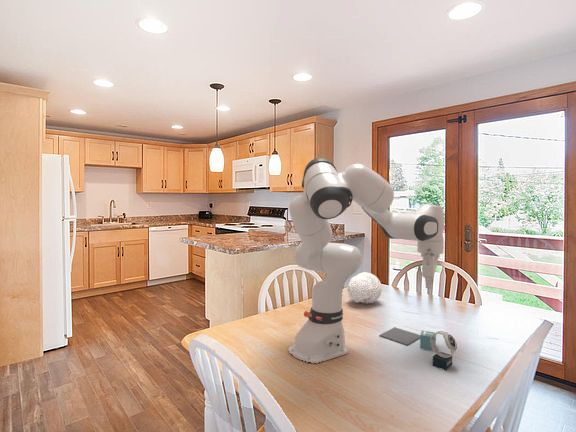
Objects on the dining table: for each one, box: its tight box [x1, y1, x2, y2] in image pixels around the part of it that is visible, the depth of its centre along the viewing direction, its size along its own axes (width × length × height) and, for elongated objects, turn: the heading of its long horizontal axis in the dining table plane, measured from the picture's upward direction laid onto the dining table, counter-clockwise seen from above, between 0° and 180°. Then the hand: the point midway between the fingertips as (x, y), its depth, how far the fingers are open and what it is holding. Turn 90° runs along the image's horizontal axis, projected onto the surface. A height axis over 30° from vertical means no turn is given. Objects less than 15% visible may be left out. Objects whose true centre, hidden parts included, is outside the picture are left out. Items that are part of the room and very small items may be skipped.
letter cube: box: [419, 330, 437, 351], centre depth 125 cm, size 5×5×5 cm
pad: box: [378, 327, 421, 347], centre depth 134 cm, size 12×12×1 cm
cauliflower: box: [346, 271, 383, 304], centre depth 174 cm, size 20×18×16 cm
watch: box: [430, 330, 458, 371], centre depth 111 cm, size 6×8×11 cm
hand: (429, 284), depth 124 cm, fingers open, 8 cm apart
